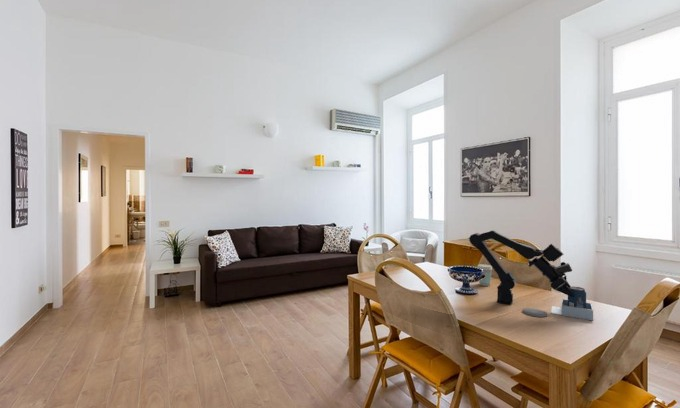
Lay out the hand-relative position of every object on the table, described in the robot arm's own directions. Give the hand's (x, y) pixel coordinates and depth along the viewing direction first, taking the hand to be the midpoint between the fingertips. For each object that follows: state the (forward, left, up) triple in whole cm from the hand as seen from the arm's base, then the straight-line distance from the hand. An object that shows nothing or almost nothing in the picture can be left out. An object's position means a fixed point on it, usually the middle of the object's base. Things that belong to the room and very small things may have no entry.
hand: (573, 294), depth 152 cm
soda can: (+1, 0, -9) cm, 9 cm away
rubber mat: (-15, -10, -9) cm, 20 cm away
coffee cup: (-44, +30, -9) cm, 54 cm away
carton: (-1, +2, -9) cm, 9 cm away
